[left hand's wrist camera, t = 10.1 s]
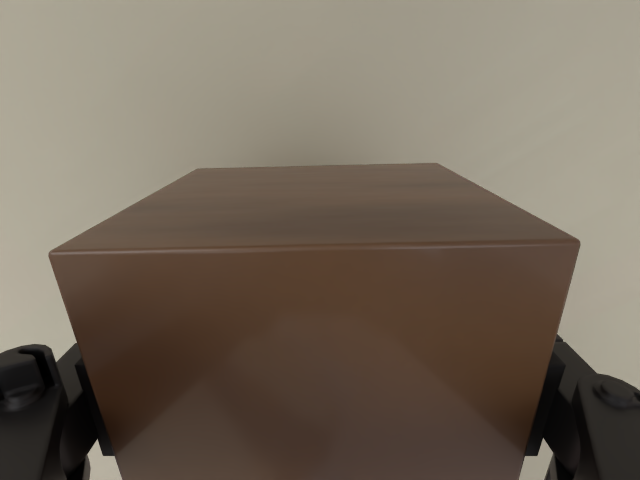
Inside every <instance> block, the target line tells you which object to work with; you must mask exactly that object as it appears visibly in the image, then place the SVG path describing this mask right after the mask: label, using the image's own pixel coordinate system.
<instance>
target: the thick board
mask: <svg viewBox="0 0 640 480" xmlns="http://www.w3.org/2000/svg"><path fill="white" fill-rule="evenodd" d="M579 248H580V241H579V239H577V238H575V237H573V236H571V235H569V234H567V233H566V232H564V231H562V230H560V229H558V228H556V227H554V226H553V225H551V224H549V223H547V222H545V221H543V220H542V219H540V218H538V217H536V216H534V215H532V214H530V213H529V212H527V211H525V210H523V209H521V208H519V207H517V206H516V205H514V204H512V203H510V202H508V201H506V200H504V199H503V198H501V197H499V196H497V195H495V194H493V193H491V192H490V191H488V190H486V189H484V188H482V187H480V186H479V185H477V184H475V183H473V182H471V181H469V180H467V179H466V178H464V177H462V176H460V175H458V174H456V173H454V172H453V171H451V170H449V169H447V168H445V167H443V166H441V165H440V164H438V163H417V164H374V165H332V166H290V167H248V168H205V169H196V170H194V171H192V172H190V173H189V174H187V175H185V176H183V177H182V178H180V179H178V180H176V181H174V182H173V183H171V184H169V185H167V186H165V187H164V188H162V189H160V190H158V191H157V192H155V193H153V194H151V195H149V196H148V197H146V198H144V199H142V200H140V201H139V202H137V203H135V204H133V205H132V206H130V207H128V208H126V209H124V210H123V211H121V212H119V213H117V214H115V215H114V216H112V217H110V218H108V219H107V220H105V221H103V222H101V223H99V224H98V225H96V226H94V227H92V228H90V229H89V230H87V231H85V232H83V233H82V234H80V235H78V236H76V237H74V238H73V239H71V240H69V241H67V242H65V243H64V244H62V245H60V246H58V247H57V248H55V249H53V250H51V251H50V252H49V259H50V262H51V265H52V268H53V271H54V274H55V277H56V280H57V283H58V286H59V289H60V292H61V295H62V298H63V301H64V304H65V307H66V310H67V313H68V316H69V319H70V322H71V325H72V329H73V332H74V335H75V338H76V341H77V344H78V347H79V350H80V353H81V356H82V359H83V362H84V365H85V368H86V371H87V374H88V377H89V380H90V383H91V386H92V389H93V392H94V395H95V398H96V401H97V404H98V407H99V410H100V413H101V416H102V419H103V422H104V425H105V428H106V431H107V434H108V437H109V440H110V443H111V446H112V449H113V452H114V456H115V459H116V462H117V465H118V468H119V471H120V474H121V477H122V480H519V476H520V472H521V468H522V465H523V461H524V457H525V453H526V449H527V446H528V442H529V438H530V434H531V431H532V427H533V423H534V419H535V415H536V412H537V408H538V404H539V400H540V396H541V393H542V389H543V385H544V381H545V377H546V374H547V370H548V366H549V362H550V358H551V355H552V351H553V347H554V343H555V339H556V336H557V332H558V328H559V324H560V321H561V317H562V313H563V309H564V305H565V302H566V298H567V294H568V290H569V286H570V283H571V279H572V275H573V271H574V267H575V264H576V260H577V256H578V252H579Z"/></svg>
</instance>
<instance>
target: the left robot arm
mask: <svg viewBox="0 0 640 480" xmlns="http://www.w3.org/2000/svg"><path fill="white" fill-rule="evenodd" d="M543 438H544V439H545V441H546V442H547V444H548V445H549V447H550V448H551V450H552V451H553V456H552V458H551V461H550V464H549V467H548V470H547V473H546V476H545V479H544V480H640V391H639V390H638V389H637V388H635V387H634V386H632V385H630V384H628V383H626V382H624V381H622V380H620V379H617V378H614V377H611V376H609V375H603V374H597V373H596V372H595V371H594V370H593V369H592V368H591V367H590V366H589V365H588V364H587V363H586V362H585V361H584V360H583V359H582V358H581V357H580V356H579V355H578V354H577V353H576V352H575V351H574V350H573V349H572V348H571V347H570V346H569V345H568V344H567V343H566V342H563V339H562V338H561V337H560V336H559V335H558V334H557V336H556V339H555V343H554V347H553V351H552V355H551V358H550V362H549V366H548V370H547V374H546V377H545V381H544V385H543V389H542V393H541V396H540V400H539V404H538V408H537V412H536V415H535V419H534V423H533V427H532V431H531V434H530V438H529V442H528V446H527V449H526V453H525V456H537V455H538V452H539V449H540V446H541V443H542V439H543ZM97 439H98V442H99V445H100V448H101V451H102V454H103V456H114V452H113V449H112V446H111V443H110V440H109V437H108V434H107V431H106V428H105V425H104V422H103V419H102V416H101V413H100V410H99V407H98V404H97V401H96V398H95V395H94V392H93V389H92V386H91V383H90V380H89V377H88V374H87V371H86V368H85V365H84V362H83V359H82V356H81V353H80V350H79V347H78V344H77V343H75V344H74V345H73V346H72V347H71V348H70V349H69V350H68V351H67V352H66V353H65V354H64V355H63V356H62V357H61V358H60V359H59V360H58V361H57V362H56V361H55V358H54V355H53V352H52V349H51V348H49V347H48V346H46V345H39V344H32V345H25V346H20V347H17V348H13V349H10V350H7V351H5V352H3V353H0V480H89V478H90V462H89V458H88V456H87V454H88V452H89V451H90V449H91V448H92V446H93V445H94V443H95V442H96V440H97Z"/></svg>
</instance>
